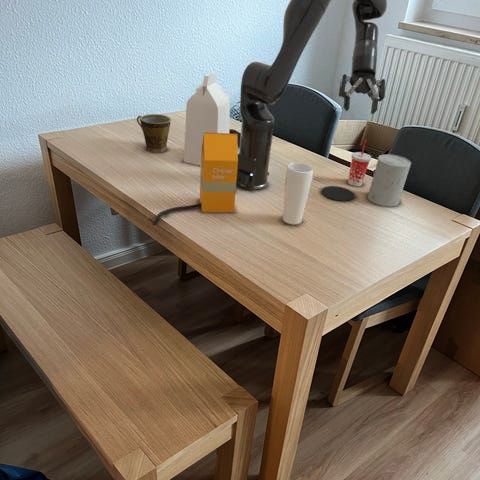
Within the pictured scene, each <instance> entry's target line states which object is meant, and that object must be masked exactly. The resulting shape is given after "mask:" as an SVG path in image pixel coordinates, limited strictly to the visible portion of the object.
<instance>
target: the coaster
mask: <svg viewBox="0 0 480 480" xmlns="http://www.w3.org/2000/svg"><path fill="white" fill-rule="evenodd" d="M321 194H322V195H323V196H324V197H325V198H327V199H329V200H332V201H336V202H349V201H353V199H354V198H355V194H354V192H353V191H352V190H350V189H348V188H345V187H342V186H337V185H330V186H325V187H322V189H321Z"/></svg>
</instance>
